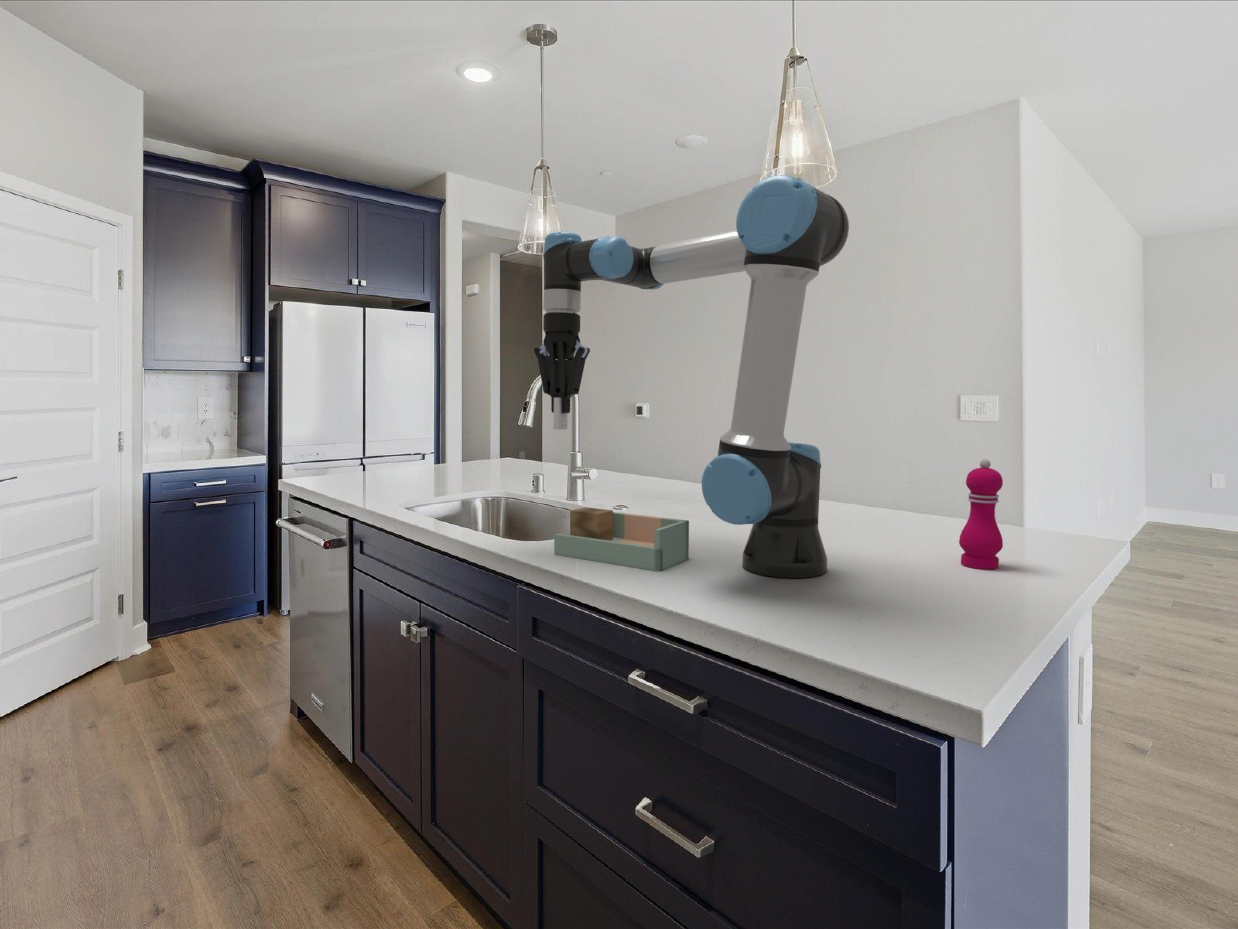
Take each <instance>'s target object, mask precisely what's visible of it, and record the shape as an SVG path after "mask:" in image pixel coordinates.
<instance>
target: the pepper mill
mask: <svg viewBox="0 0 1238 929" xmlns="http://www.w3.org/2000/svg"><path fill="white" fill-rule="evenodd" d="M979 466H980V467H977V468H974V469H972V470H971V471H969V472H968V474H967V475H966V478H965V485H966V487H967V488H968V489H969V491H970V492H968V494H967V495H968V498H967V500H968V502H969V503H970V510H969V514H968V515H969V516H968V519H967V521H966V523H965V525H963V526H964V527H963V528H962V530H961V531H960V532H961V533H960V535H959V540H958V544H959V546H960V547H961V549H962V550H963V552H964V553H961V555H960V565H962V566H964V567H967V568H971V569H977V570H986V571H987V570H996V569H998V568H999V564H1000V559H999V557H998V556H997V554H998V553H999V552H1001V551H1002V549H1003V546H1004V543H1003V542H1004V541H1003V536H1002V534H1001V531H1000V529H999V526H998V524H997V520H996V504H997V503H999V498H1000V495H999V494H997V493H998V492H999V491H1000V490H1001V489H1002V487H1003V485H1004V484H1003V483H1004V482H1003V476H1002V474H1001V473H1000V472H999V471H997V470H996V469H993V468H991V461H990V460H989V459H987V458H985V459H981V460H980V462H979Z"/></svg>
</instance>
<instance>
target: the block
mask: <svg viewBox="0 0 1238 929" xmlns="http://www.w3.org/2000/svg"><path fill="white" fill-rule="evenodd" d="M613 512H614V511H613V510H612V509H604V508H595V507H587V506H586V507H585V506H583V507H580V508H576V509H572V510H570V511H569V528H570V529H569V535H572V536H580V537H587V538H594V539H601V540H608V541H610V540H613Z"/></svg>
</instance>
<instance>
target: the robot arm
mask: <svg viewBox="0 0 1238 929" xmlns="http://www.w3.org/2000/svg"><path fill="white" fill-rule="evenodd" d="M735 220H736V221H735V225H736V226H735V227H736V229H733V230H728V231H722V232H718V233H713V234H709V235H703V236H699V237H694V238H689V239H683V240H678V241H674V242H669V243H664V244H659V245H655V246H650V247H644V248H638V247H635V246H631V244H629V242H627V240H626V239H625V238H624V237H621V236H609V235H608V236H607V235H606V236H603V237H599V238H595V239H588V240H582V237H581V235H579V234H578V233H575V232H570V231H554V232H553V231H552V232H551V233H550V232H549V233H548V234H547V235H546V236H545V238H544V247H543V248H544V249H543V254H542V257H543V303H542V304H543V306H542V307H543V311H545V313H544V314H543V318H542V320H543V323H542V326H543V327H542V330H543V331H544V333H545V334H544V335H545V336H544V339H543V342H542V344H541V345H540V346H539V347H534V350H533V351H534V354H535V356H536V358H537V362H538V367H539V373H540V380H541V386H542V391H543V393H544V394H545V395H548V396H550V398H551V399H550V400H551V404H550V405H551V413H553V430H558V431H559V430H568V414H570V412H571V398H572V397H573V396H575V395H578V394H579V392H580V389H581V384H582V379H583V375H584V369H585V364H586V360H587V358H588V355H589V354H590V352H591V348H589V347H585V345H583V344H582V343H581V338H580V336H579V333H580V332H581V316H580V314H578V313H579V312H580V311H581V301H582V300H581V298H582V297H581V295H582V293H581V292H582V289H581V288H582V282H587V281H605V282H609V283H614V284H620V285H626V286H630V287H633V288H634V287H635V288H638V289H640V290H641V289H642V290H658V289H660V288H661V287H663V285H665V284H671V283H677V282H683V281H689V280H697V279H703V278H707V277H708V278H709V277H715V276H722V275H727V274H734V273H741V272H745V273H746V274H747V276H749V278H750V287H749V288H750V289H749V296H748V302H747V309H746V317H745V325H744V331H743V338H742V346H741V355H740V360H739V361H740V362H739V366H738V376H737V380H736V381H737V383H736V389H735V396H734V402H733V403H734V404H733V411H732V419H731V425H730V428H729V430H727V431H726V432H725V433H724V434H723V435H721V436H720V439H719V445H718V450H717V456H715V457H714V458H713V459H711V461H710V462H709V463H708V464H707V465H706V466H705V468H704V470H703V473H702V477H701V491H702V496H703V499H704V501H705V504H706V505H707V506H708V507H709V509H710V510H711V512H712V513H713V515H715V516H716V517H717V518H718V519H720V520H722V521H723V522H725V523H728V524H731V525H737V526H739V525H740V526H743V525H752V527H751V529H750V533H749V534H748V538H747V540H746V543H745V545H744V546H745V547H744V550H743V552H742V561H741V562H742V563H741V564H742V565H741V566H742V567H743V569H745V570H747V571H748V572H751V573H754V574H757V575H762V576H767V577H768V576H769V577H775V578H786V579H787V578H789V579H790V578H791V579H792V578H793V579H802V578H812V577H813V578H814V577H818V576H821V575H825V574H826V573H827V571H828V557H827V554H826V550H825V547H824V543H823V541H822V537H821V533H820V530H819V511H820V491H821V488H820V487H821V485H820V484H821V469H822V463H821V453H820V450H819V448H818V447H817V446H816V445H812V444H808V443H799V442H798V443H797V442H789V441H788V440H787V439H786V437H785V434H784V433H785V428H786V421H787V417H788V414H787V413H788V407H789V402H790V396H791V389H792V382H793V376H794V370H795V363H796V358H797V350H798V343H799V337H800V331H801V324H802V318H803V312H804V304H805V300H806V299H805V298H806V291H807V286H808V285H809V283H811V281H813V280H814V279H815V278H816V277H818V276H819V273H820V267H821V266H824V265H826V264H828V263H830V262H831V261H833V260H835V258H836V257H837V256H838V255H839V254H840V253H841V252H842V250H843V248H844V247H845V244H846V242H847V239H848V236H849V229H850V225H849V224H850V222H849V217H848V214H847V211H846V209H845V208H844V206H843V204H841V203H840V201H838V200H837V199H836V198H834V197H833V196H831V195H830V194H828V193H825V192H823V191H821V190H820V189H818V188H816V187H814V186H813V185H812V184H811V183H809V182H808V181H806V180H805V179H802V178H799V177H794V176H791V175H787V174H786V175H785V174H779V175H778V174H777V175H772V176H769V177H767V178H765V179H763V180H761V181H759V182H758V183H757V184H756V185H755V186H753V188H752V189H751V190H749V191H748V192H747V193H746V195H745V196H744V197H743V200H742V201H741V203H740V205H739V208H738V211H737V214H736V219H735Z"/></svg>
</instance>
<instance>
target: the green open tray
mask: <svg viewBox="0 0 1238 929" xmlns="http://www.w3.org/2000/svg"><path fill="white" fill-rule="evenodd" d="M553 537H554V538H553V540H554V542H553V544H554V545H553V546H554V549H553V550H554V553H553V554H554V555H556V556H561V557H562V556H563V557H569V558H574V559H575V558H576V559H581V560H588V561H592V562H593V561H594V562H601V563H606V564H611V565H612V564H613V565H619V566H626V567H631V568H636V569H642V570H643V569H644V570H650V571H655V572H661V571H663V570H665V569H668V568H670V567H672V566H675V565H677V564H679V563H680V564H681V563H682V562H684V561H686V560H689V554H690V552H689V550H690V544H689V543H690V540H689V539H690V520H689V519H688V520H687V519H686V520H685V519H678V518H677V519H676V518H671V517H669V518H668V517H663V516H662V517H660V516H652V515H651V516H649V515H645V514H643V515H641V514H634V513H633V514H632V513H624V512H618V511H617V512H616V511H613V540H610V541H608V540H601V539H594V538H587V537H580V536H572V535H570V534H565V533H564V534H563V533H555V534H554V536H553Z"/></svg>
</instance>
